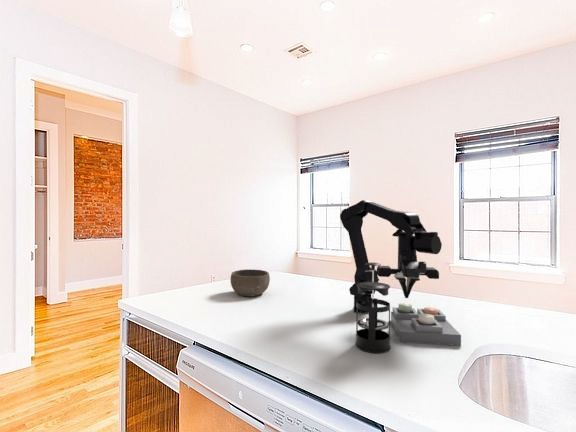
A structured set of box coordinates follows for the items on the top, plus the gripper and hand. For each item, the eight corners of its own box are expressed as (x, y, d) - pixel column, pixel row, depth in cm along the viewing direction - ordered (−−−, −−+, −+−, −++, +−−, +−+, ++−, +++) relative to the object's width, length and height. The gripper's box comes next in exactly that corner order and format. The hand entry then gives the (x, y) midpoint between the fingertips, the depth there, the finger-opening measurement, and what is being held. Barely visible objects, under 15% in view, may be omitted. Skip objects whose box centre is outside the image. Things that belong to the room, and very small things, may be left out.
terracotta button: (425, 316, 104) (425, 310, 104) (422, 312, 108) (422, 307, 108) (439, 317, 103) (439, 311, 103) (435, 313, 107) (435, 307, 107)
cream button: (420, 323, 94) (420, 317, 94) (417, 319, 98) (417, 313, 98) (435, 324, 93) (435, 318, 93) (432, 320, 97) (432, 314, 97)
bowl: (268, 299, 139) (268, 275, 139) (226, 299, 139) (226, 275, 139) (270, 289, 156) (270, 269, 156) (234, 289, 156) (234, 268, 156)
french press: (390, 356, 83) (390, 266, 83) (353, 351, 86) (353, 264, 86) (390, 339, 94) (391, 260, 94) (357, 335, 97) (358, 259, 97)
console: (400, 341, 93) (400, 326, 93) (391, 320, 111) (391, 307, 111) (460, 345, 90) (460, 329, 90) (440, 323, 109) (440, 309, 109)
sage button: (399, 311, 105) (399, 306, 105) (397, 308, 110) (397, 302, 110) (413, 312, 105) (413, 306, 105) (410, 308, 109) (410, 303, 109)
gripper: (381, 253, 100) (380, 303, 101) (445, 255, 98) (444, 306, 98) (376, 249, 111) (376, 294, 112) (434, 250, 109) (433, 297, 109)
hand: (406, 298), depth 107 cm, fingers closed
